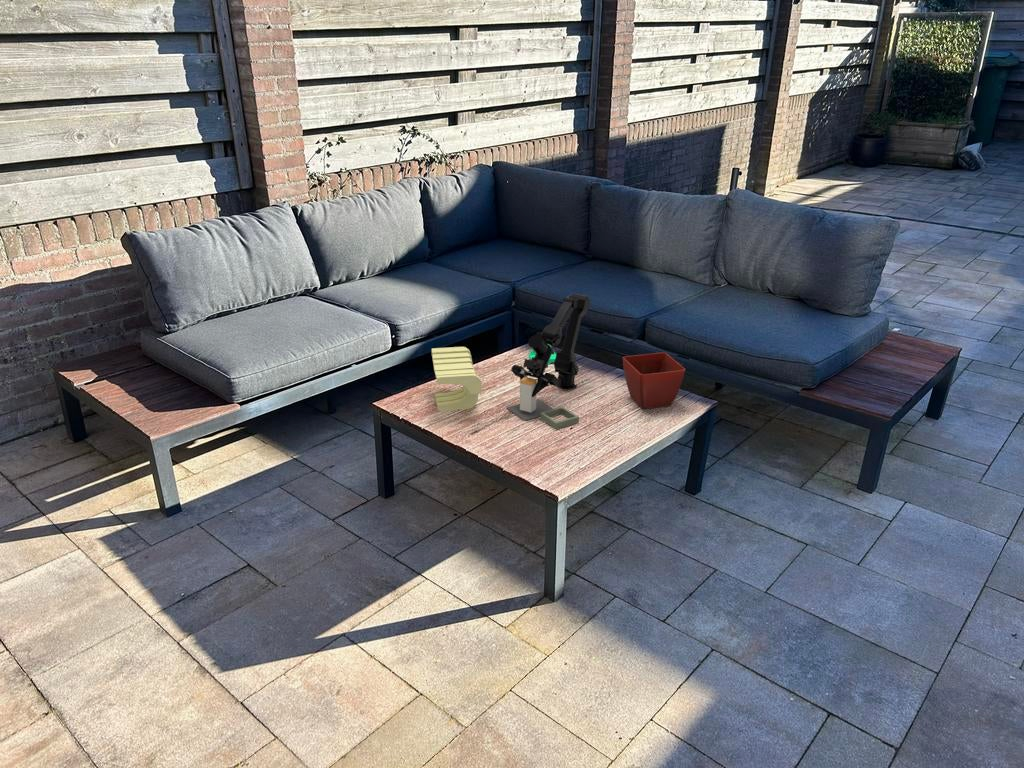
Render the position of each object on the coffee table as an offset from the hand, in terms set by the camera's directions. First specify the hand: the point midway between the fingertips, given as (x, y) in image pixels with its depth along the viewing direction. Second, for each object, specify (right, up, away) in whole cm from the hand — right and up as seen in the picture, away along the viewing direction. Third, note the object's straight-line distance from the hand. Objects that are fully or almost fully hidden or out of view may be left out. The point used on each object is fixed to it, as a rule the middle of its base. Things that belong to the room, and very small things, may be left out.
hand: (526, 395), depth 310 cm
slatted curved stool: (-28, -3, +13) cm, 31 cm away
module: (+1, -6, +4) cm, 7 cm away
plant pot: (+50, -3, +16) cm, 53 cm away
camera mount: (+9, +14, +54) cm, 56 cm away
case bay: (+13, -10, -1) cm, 16 cm away
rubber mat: (+2, -6, +7) cm, 9 cm away
